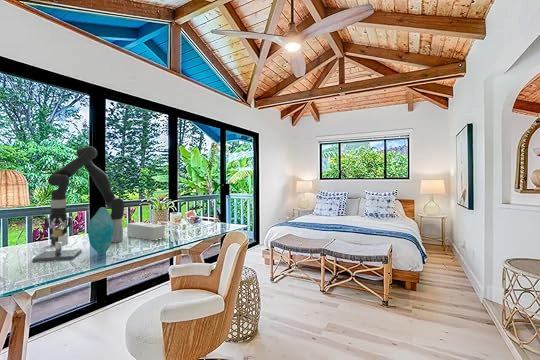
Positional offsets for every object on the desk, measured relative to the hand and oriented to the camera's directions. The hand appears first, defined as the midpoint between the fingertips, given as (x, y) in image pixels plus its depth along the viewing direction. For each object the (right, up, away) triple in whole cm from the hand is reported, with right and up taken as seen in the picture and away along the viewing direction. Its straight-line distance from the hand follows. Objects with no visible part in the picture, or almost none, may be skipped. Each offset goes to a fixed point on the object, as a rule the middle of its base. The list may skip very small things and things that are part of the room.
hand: (58, 234), depth 172 cm
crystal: (+22, -15, +7) cm, 27 cm away
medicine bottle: (-22, -14, +31) cm, 40 cm away
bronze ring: (0, -1, 0) cm, 1 cm away
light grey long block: (+28, -14, +57) cm, 65 cm away
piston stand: (0, -14, 0) cm, 14 cm away
